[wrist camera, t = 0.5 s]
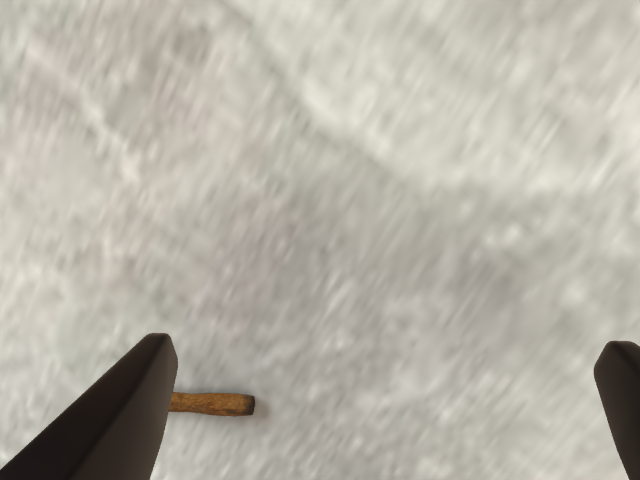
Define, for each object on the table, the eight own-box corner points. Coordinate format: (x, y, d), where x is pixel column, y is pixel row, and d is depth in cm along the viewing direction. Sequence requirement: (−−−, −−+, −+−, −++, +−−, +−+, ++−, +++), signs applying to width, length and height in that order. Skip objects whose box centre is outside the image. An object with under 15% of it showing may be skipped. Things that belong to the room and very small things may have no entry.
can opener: (257, 391, 25) (252, 402, 23) (252, 429, 25) (248, 442, 24) (98, 368, 25) (86, 377, 24) (96, 406, 25) (84, 417, 24)
